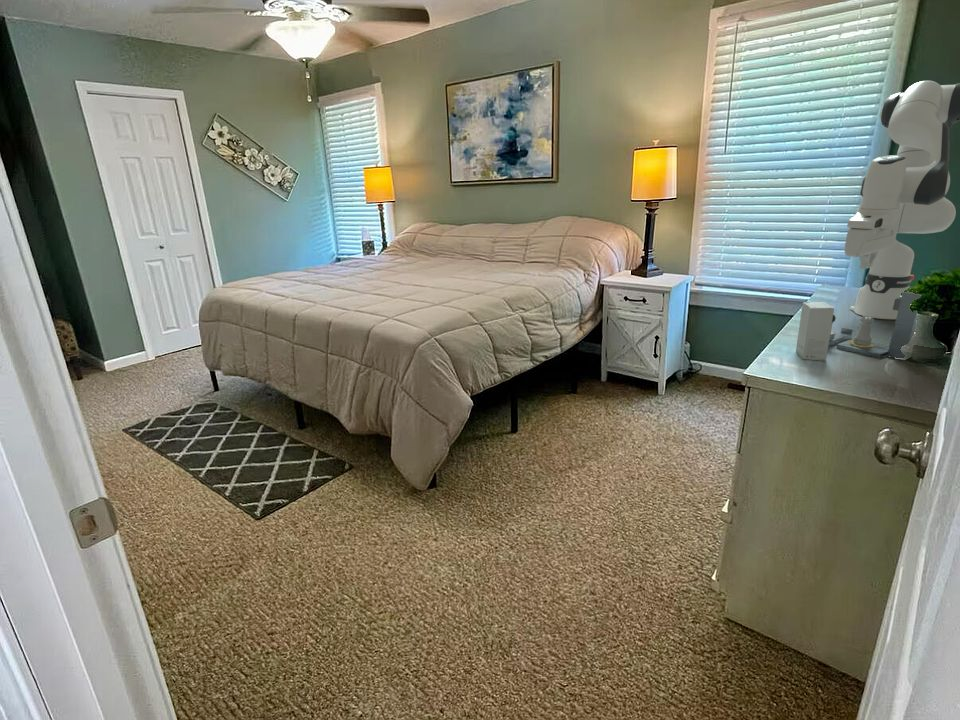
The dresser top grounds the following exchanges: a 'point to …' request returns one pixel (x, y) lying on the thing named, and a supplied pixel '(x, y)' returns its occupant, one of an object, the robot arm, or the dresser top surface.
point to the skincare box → (814, 330)
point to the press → (900, 335)
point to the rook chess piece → (864, 331)
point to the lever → (831, 328)
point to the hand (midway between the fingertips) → (865, 268)
